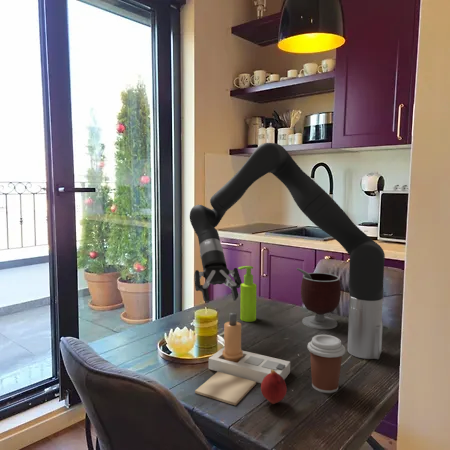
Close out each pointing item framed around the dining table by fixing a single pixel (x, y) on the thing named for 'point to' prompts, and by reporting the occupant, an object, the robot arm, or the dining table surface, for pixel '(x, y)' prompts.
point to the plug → (232, 339)
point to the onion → (273, 387)
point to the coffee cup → (325, 362)
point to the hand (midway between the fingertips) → (221, 300)
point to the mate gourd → (320, 298)
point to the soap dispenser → (248, 296)
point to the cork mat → (226, 388)
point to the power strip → (249, 366)
